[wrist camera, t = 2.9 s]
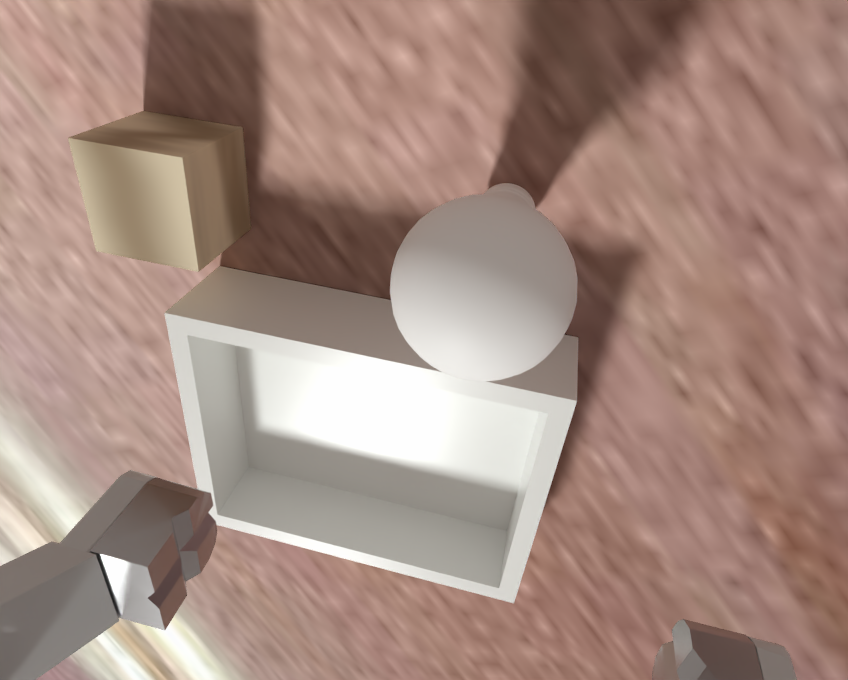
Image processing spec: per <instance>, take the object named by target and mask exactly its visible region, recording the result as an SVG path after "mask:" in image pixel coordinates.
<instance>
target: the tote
mask: <svg viewBox="0 0 848 680" xmlns="http://www.w3.org/2000/svg"><path fill="white" fill-rule="evenodd" d="M165 318H166V324H167V329H168V334H169V339H170V345H171V350H172V355H173V360H174V366H175V371H176V376H177V382H178V387H179V392H180V397H181V403H182V408H183V413H184V418H185V424H186V429H187V434H188V439H189V445H190V450H191V455H192V461H193V466H194V471H195V476H196V482H197V487H198V489H199V490H203V491H206V492H210V493H211V496H212V501H213V506H212V508H211V509H210V511H209V512H208V513H209V514H210V515H211V516H212V517H213V519H214V520H215V521H216V525H219V526H223V527H227V528H231V529H234V530H238V531H242V532H246V533H250V534H253V535H257V536H261V537H265V538H269V539H272V540H276V541H280V542H284V543H288V544H291V545H295V546H299V547H303V548H306V549H310V550H314V551H318V552H322V553H325V554H329V555H333V556H337V557H341V558H344V559H348V560H352V561H356V562H359V563H363V564H367V565H371V566H375V567H378V568H382V569H386V570H390V571H394V572H397V573H401V574H405V575H409V576H412V577H416V578H420V579H424V580H428V581H431V582H435V583H439V584H443V585H447V586H450V587H454V588H458V589H462V590H465V591H469V592H473V593H477V594H481V595H484V596H488V597H492V598H496V599H500V600H503V601H507V602H511V603H514V601H515V598H516V595H517V591H518V588H519V585H520V582H521V579H522V575H523V572H524V569H525V566H526V563H527V559H528V556H529V553H530V550H531V547H532V543H533V540H534V537H535V534H536V531H537V527H538V524H539V521H540V518H541V515H542V511H543V508H544V505H545V502H546V499H547V495H548V492H549V489H550V486H551V483H552V480H553V476H554V473H555V470H556V467H557V464H558V460H559V457H560V454H561V451H562V448H563V444H564V441H565V438H566V435H567V432H568V428H569V425H570V422H571V419H572V416H573V412H574V409H575V406H576V403H577V380H578V337H574V336H569V335H564V336H563V338H562V340H561V341H560V342H559V344H558V345H557V346H556V347H555V348H554V349H553V351H552V352H551V353H550V354H549V355H548V356H547V357H546V358H545V359H544V360H542V361H541V362H540V363H538V364H537V365H536V366H535V367H533V368H531V369H529V370H527V371H525V372H523V373H521V374H519V375H515V376H512V377H508V378H505V379H501V380H495V381H486V382H485V381H470V380H465V379H460V378H456V377H453V376H451V375H448V374H445V373H443V372H441V371H439V370H438V369H436V368H434V367H432V366H431V365H429V364H428V363H427V362H426V361H424V360H423V359H422V358H421V357H419V355H418V354H417V353H416V352H415V351H414V350H413V349H412V348H411V346H410V345H409V344H408V343H407V341H406V340H405V338H404V337H403V335H402V333H401V332H400V330H399V328H398V326H397V323H396V320H395V318H394V315H393V309H392V302H391V300H388V299H383V298H378V297H373V296H368V295H363V294H358V293H353V292H348V291H343V290H338V289H333V288H328V287H323V286H318V285H313V284H308V283H303V282H298V281H293V280H288V279H283V278H277V277H272V276H267V275H262V274H257V273H252V272H247V271H242V270H237V269H232V268H227V267H222V266H219V267H218V268H216V269H215V270H214V271H213V272H212V273H211V274H209V275H208V276H207V277H206V278H205V279H204V280H202V281H201V282H200V283H199V284H198V285H196V286H195V287H194V288H193V289H192V290H191V291H189V292H188V293H187V294H186V295H185V296H184V297H182V298H181V299H180V300H179V301H178V302H177V303H175V304H174V305H173V306H172V307H171V308H170V309H168V310H167V311H166V312H165Z"/></svg>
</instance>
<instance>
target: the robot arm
mask: <svg viewBox="0 0 848 680" xmlns="http://www.w3.org/2000/svg"><path fill="white" fill-rule="evenodd" d="M212 506H213V501H212V496H211V493H210V492H206V491H203V490H199V489H196V488H192V487H188V486H185V485H181V484H178V483H174V482H171V481H167V480H164V479H160V478H158V477H154V476H150V475H147V474H143V473H139V472H135V471H132V470H130V471H128V472H126V473H124V474H123V475H121V476H120V477H119V478H118V479H117V480H116V481H115V482H114V483H113V484H112V485H111V487H110V488H109V489H108V490H107V491H106V492H105V493H104V494H103V495H102V497H101V498H100V499H99V500H98V501H97V502H96V503H95V504H94V505H93V507H92V508H91V509H90V510H89V511H88V512H87V513H86V514H85V516H84V517H83V518H82V519H81V520H80V521H79V522H78V523H77V524H76V526H75V527H74V528H73V529H72V530H71V531H70V532H69V533H68V535H67V536H66V537H65V538H64V539H63V540H62V541H61V542H60V543H56V542H50V543H48V544H45V545H43V546H41V547H39V548H37V549H35V550H33V551H31V552H29V553H27V554H25V555H23V556H20V557H18V558H16V559H14V560H12V561H10V562H8V563H6V564H4V565H2V566H0V680H36V679H37V678H39V677H40V676H42V675H43V674H44V673H46V672H47V671H49V670H50V669H51V668H53V667H54V666H56V665H57V664H59V663H60V662H61V661H63V660H64V659H66V658H67V657H69V656H70V655H71V654H73V653H74V652H76V651H77V650H78V649H80V648H81V647H83V646H84V645H86V644H87V643H88V642H90V641H91V640H93V639H94V638H96V637H97V636H98V635H100V634H101V633H103V632H104V631H105V630H107V629H108V628H110V627H111V626H113V625H114V624H115V623H117V622H118V621H119V618H122V619H126V620H129V621H133V622H137V623H140V624H144V625H148V626H151V627H155V628H159V629H162V630H165V629H166V628H167V626H168V624H169V623H170V621H171V620H172V618H173V617H174V615H175V613H176V612H177V610H178V609H179V607H180V605H181V604H182V602H183V601H184V599H185V597H186V596H187V590H186V581H188V580H189V579H191V578H193V577H194V576H196V575H198V574H199V573H201V572H202V570H203V568H204V567H205V565H206V563H207V562H208V560H209V558H210V556H211V553H212V550H213V548H214V545H215V542H216V535H217V526H216V521H215V520H214V519H213V517H212V516H211V515H210V514H209V513H208V512H209V511H210V509H211V508H212ZM672 634H673V641H671V642H668V643H665V644H662V646H661V648H660V650H659V651H658V653H657V655H656V658H655V662H654V667H653V671H652V680H797V678H796V675H795V671H794V668H793V664H792V661H791V658H790V655H789V653H788V652H787V650H786V649H785V648H784V647H783V646H781V645H779V644H776V643H772V642H768V641H764V640H760V639H756V638H752V637H748V636H746V635H744V634H740V633H736V632H732V631H728V630H724V629H720V628H716V627H712V626H708V625H704V624H700V623H696V622H692V621H689V620H685V619H683V620H680V621H678V622H677V623H676V625H675V626H674V628H673V629H672Z"/></svg>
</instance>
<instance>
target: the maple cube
mask: <svg viewBox="0 0 848 680" xmlns="http://www.w3.org/2000/svg"><path fill="white" fill-rule="evenodd" d="M68 140H69V144H70V148H71V152H72V156H73V160H74V164H75V168H76V172H77V176H78V180H79V184H80V188H81V192H82V196H83V200H84V204H85V208H86V212H87V216H88V220H89V224H90V228H91V232H92V236H93V240H94V244H95V248H96V251H98V252H103V253H108V254H113V255H118V256H123V257H128V258H133V259H138V260H143V261H148V262H152V263H157V264H162V265H167V266H172V267H177V268H182V269H187V270H192V271H197V272H199V271H200V270H201V269H203V268H204V267H205V266H206V265H208V264H209V263H210V262H211V261H212V260H214V259H215V258H216V257H217V256H219V255H220V254H221V253H222V252H223V251H225V250H226V249H227V248H228V247H229V246H231V245H232V244H233V243H234V242H236V241H237V240H238V239H239V238H240V237H242V236H243V235H244V234H245V233H246V232H248V231H249V230H250V229H251V221H250V209H249V197H248V185H247V172H246V160H245V148H244V136H243V127H239V126H233V125H227V124H221V123H215V122H209V121H203V120H197V119H190V118H184V117H178V116H172V115H166V114H160V113H154V112H148V111H142V112H139V113H136V114H133V115H130V116H128V117H125V118H122V119H119V120H116V121H114V122H111V123H108V124H105V125H102V126H100V127H97V128H94V129H91V130H88V131H86V132H83V133H80V134H77V135H74V136H72V137H69V138H68Z"/></svg>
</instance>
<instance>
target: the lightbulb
mask: <svg viewBox="0 0 848 680" xmlns="http://www.w3.org/2000/svg"><path fill="white" fill-rule="evenodd" d="M577 282H578V277H577V272H576V267H575V262H574V259H573V257H572V254H571V252H570V250H569V247H568V245H567V243H566V242H565V240H564V238H563V237H562V235H561V234H560V232H559V231H558V230H557V228H556V227H555V226H554V224H553V223H552V222H551V221H549V220H548V219H547V218H546V217H545V216H544V215H543V214H542V213H541V212H539V211H537V210H536V208H535V203H534V201H533V199H532V197H531V195H530V194H529V193H528V192H527V191H526V190H525V189H524V188H522V187H520V186H518V185H515V184H511V183H501V184H497V185H495V186H493V187H491V188H489V189H488V190H487V191H486V192H485V193H484V194H476V195H469V196H465V197H460V198H456V199H454V200H451V201H449V202H447V203H445V204H443V205H440V206H439V207H437V208H435V209H433V210H432V211H430V212H429V213H428V214H426V215H425V216H424V217H422V218H421V219H420V220H419V221H418V222H417V223H416V224H415V225H414V226H413V228H412V229H411V230H410V231H409V232H408V234H407V235H406V237H405V238H404V240H403V242H402V244H401V246H400V248H399V249H398V251H397V253H396V257H395V260H394V264H393V267H392V272H391V282H390V296H391V302H392V309H393V315H394V318H395V320H396V323H397V326H398V328H399V330H400V332H401V333H402V335H403V337H404V338H405V340H406V341H407V343H408V344H409V345H410V346H411V348H412V349H413V350H414V351H415V352H416V353H417V354H418V355H419V357H421V358H422V359H423V360H424V361H426V362H427V363H428V364H429V365H431V366H432V367H434V368H436V369H438V370H439V371H441V372H443V373H445V374H448V375H451V376H453V377H456V378H460V379H465V380H470V381H485V382H486V381H495V380H501V379H505V378H508V377H512V376H515V375H519V374H521V373H523V372H525V371H527V370H529V369H531V368H533V367H535V366H536V365H537V364H538V363H540V362H541V361H542V360H544V359H545V358H546V357H547V356H548V355H549V354H550V353H551V352H552V351H553V349H554V348H555V347H556V346H557V345H558V344H559V342H560V341H561V340H562V338H563V336H564V334H565V333H566V331H567V329H568V327H569V325H570V323H571V321H572V318H573V315H574V311H575V307H576V304H577Z"/></svg>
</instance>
